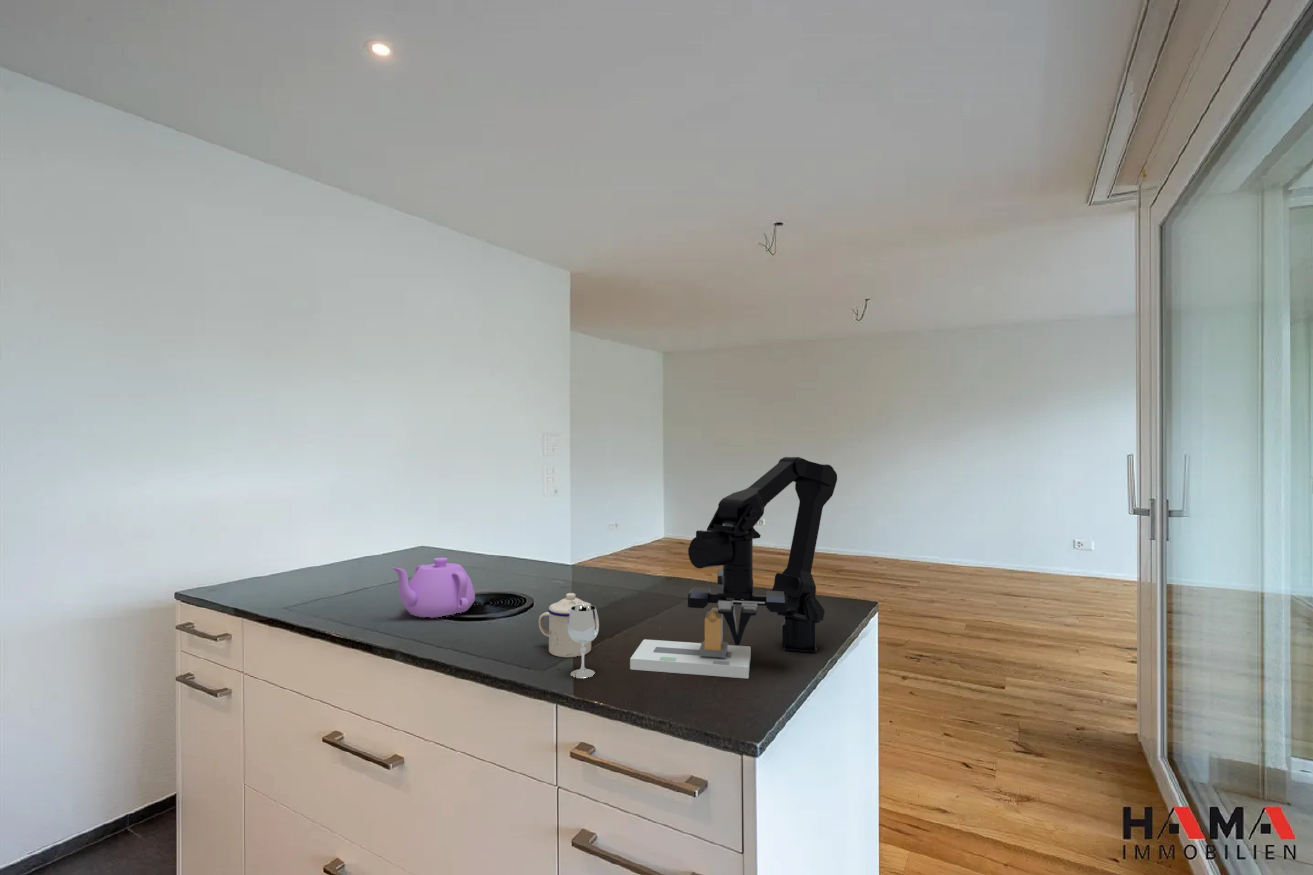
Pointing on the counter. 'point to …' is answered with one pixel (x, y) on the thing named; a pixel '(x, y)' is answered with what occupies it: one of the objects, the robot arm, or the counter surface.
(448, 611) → the teapot
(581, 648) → the wineglass
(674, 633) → the counter surface
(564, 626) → the teacup with lid
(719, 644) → the toggle
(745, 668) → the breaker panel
